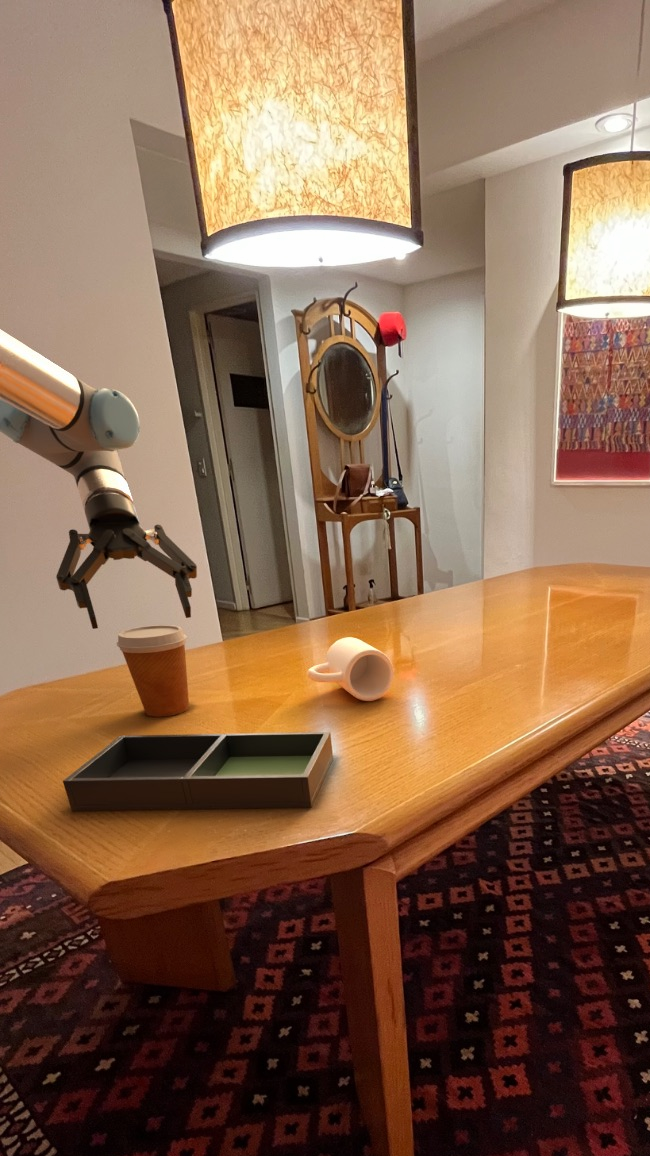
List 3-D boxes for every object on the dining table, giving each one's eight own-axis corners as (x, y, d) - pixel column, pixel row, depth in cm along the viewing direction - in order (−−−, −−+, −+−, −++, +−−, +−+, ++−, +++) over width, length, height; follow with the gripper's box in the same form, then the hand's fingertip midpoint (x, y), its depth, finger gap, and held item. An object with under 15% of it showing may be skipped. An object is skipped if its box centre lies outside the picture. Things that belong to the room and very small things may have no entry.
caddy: (71, 811, 73) (62, 780, 71) (127, 762, 85) (120, 735, 83) (311, 807, 72) (307, 777, 70) (333, 758, 84) (330, 731, 82)
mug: (372, 681, 114) (369, 634, 110) (396, 696, 106) (392, 646, 102) (303, 692, 109) (297, 643, 106) (322, 709, 101) (316, 657, 98)
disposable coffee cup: (212, 701, 106) (197, 625, 101) (177, 722, 98) (159, 639, 92) (159, 699, 108) (142, 623, 103) (120, 718, 100) (99, 637, 94)
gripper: (189, 520, 117) (223, 622, 112) (26, 530, 107) (56, 642, 102) (189, 487, 111) (225, 593, 106) (15, 494, 100) (46, 612, 95)
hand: (142, 618), depth 104 cm, fingers open, 13 cm apart
